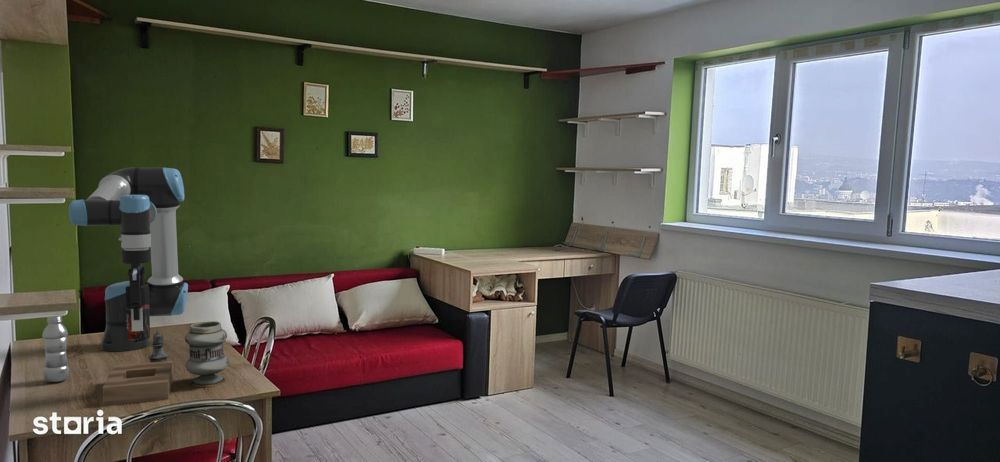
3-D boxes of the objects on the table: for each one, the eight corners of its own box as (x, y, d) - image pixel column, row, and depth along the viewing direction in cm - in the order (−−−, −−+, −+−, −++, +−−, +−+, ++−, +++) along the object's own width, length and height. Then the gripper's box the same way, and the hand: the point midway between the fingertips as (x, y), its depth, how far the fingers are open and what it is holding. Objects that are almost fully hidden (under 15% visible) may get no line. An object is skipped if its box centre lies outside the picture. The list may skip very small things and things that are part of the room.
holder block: (114, 381, 207) (114, 365, 206) (173, 376, 213) (172, 360, 212) (103, 405, 187) (102, 387, 186) (168, 399, 193) (167, 381, 192)
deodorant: (154, 336, 200) (153, 286, 198) (136, 341, 194) (134, 289, 193) (140, 334, 202) (139, 284, 201) (122, 338, 197) (120, 287, 195)
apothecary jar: (177, 382, 207) (176, 324, 205) (214, 373, 217) (213, 317, 215) (200, 390, 200) (199, 330, 198) (237, 380, 210) (236, 323, 208)
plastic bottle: (51, 378, 209) (48, 313, 207) (74, 377, 210) (71, 313, 208) (38, 384, 203) (36, 318, 201) (62, 384, 203) (60, 318, 202)
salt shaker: (160, 369, 220) (159, 333, 218) (144, 368, 221) (143, 331, 220) (172, 364, 225) (171, 328, 224) (156, 363, 226) (155, 327, 225)
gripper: (125, 245, 203) (127, 322, 205) (116, 253, 186) (119, 336, 188) (153, 244, 206) (155, 320, 208) (147, 252, 189) (150, 334, 191)
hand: (138, 328), depth 198 cm, fingers closed on deodorant, 6 cm apart
